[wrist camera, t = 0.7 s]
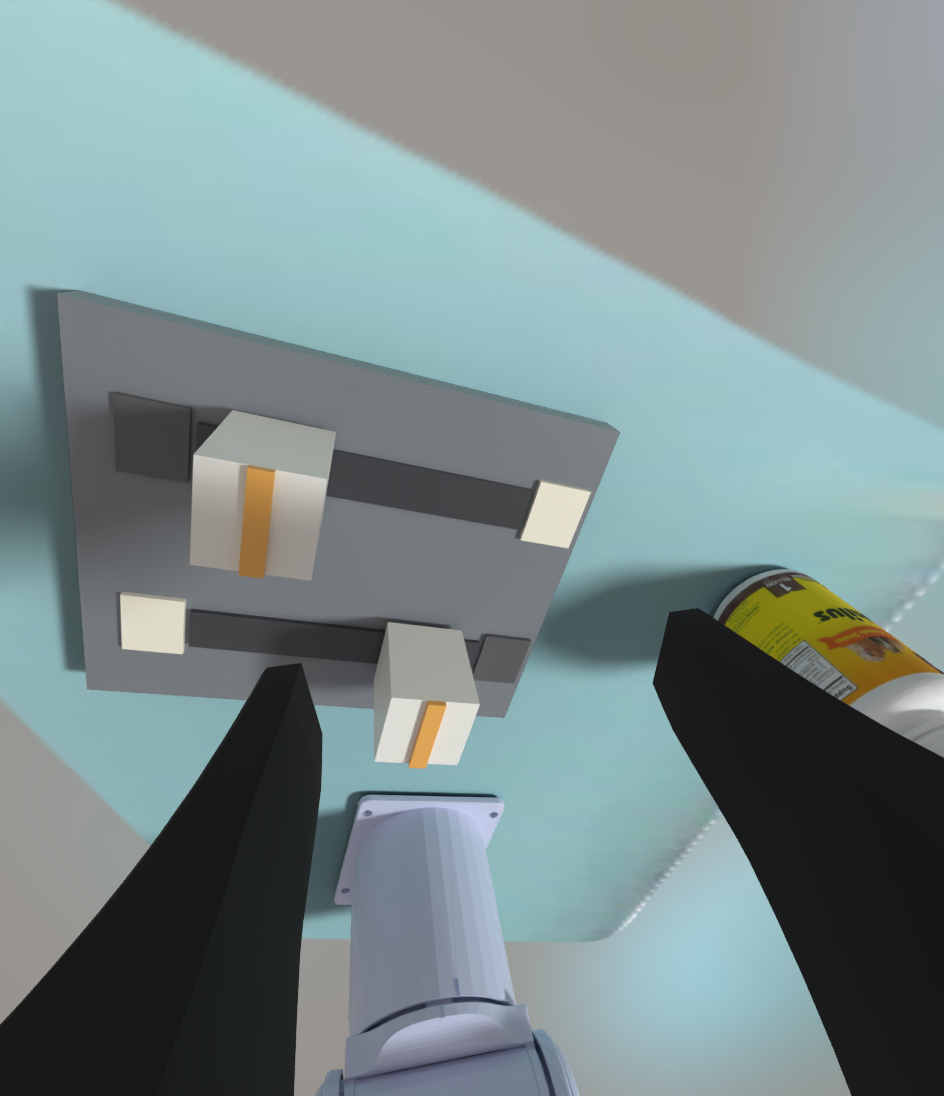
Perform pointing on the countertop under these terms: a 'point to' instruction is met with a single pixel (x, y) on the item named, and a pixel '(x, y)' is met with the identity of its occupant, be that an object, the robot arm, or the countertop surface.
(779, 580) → the supplement bottle
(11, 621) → the countertop surface
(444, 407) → the switch unit
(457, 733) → the toggle
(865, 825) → the robot arm
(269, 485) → the toggle
